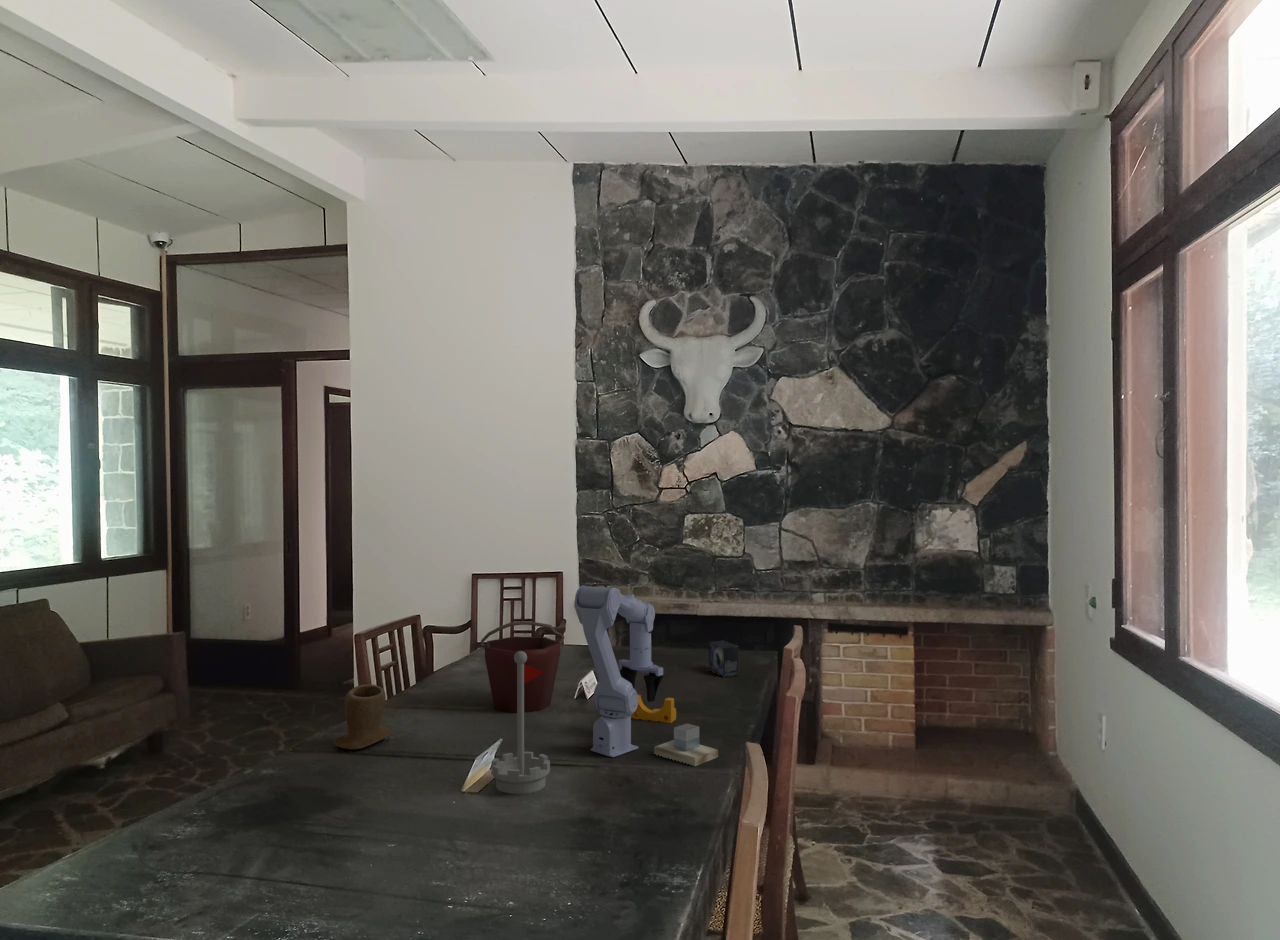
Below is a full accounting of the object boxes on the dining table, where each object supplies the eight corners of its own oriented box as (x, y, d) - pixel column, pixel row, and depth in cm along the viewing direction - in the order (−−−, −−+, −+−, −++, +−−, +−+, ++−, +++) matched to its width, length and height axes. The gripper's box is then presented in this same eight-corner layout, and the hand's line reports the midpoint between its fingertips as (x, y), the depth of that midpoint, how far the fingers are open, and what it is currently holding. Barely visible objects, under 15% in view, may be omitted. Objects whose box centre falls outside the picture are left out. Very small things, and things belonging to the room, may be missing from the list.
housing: (686, 751, 212) (686, 731, 212) (673, 747, 215) (673, 727, 215) (699, 746, 216) (699, 726, 216) (687, 743, 218) (687, 723, 218)
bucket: (568, 697, 270) (568, 616, 270) (555, 717, 248) (554, 629, 248) (491, 695, 273) (491, 615, 273) (471, 715, 251) (470, 628, 251)
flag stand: (494, 798, 188) (494, 659, 188) (488, 777, 200) (488, 647, 200) (554, 792, 191) (554, 655, 191) (544, 772, 204) (544, 643, 204)
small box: (707, 671, 304) (707, 641, 304) (723, 669, 307) (723, 639, 307) (722, 678, 295) (722, 647, 295) (739, 676, 297) (739, 645, 297)
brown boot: (362, 756, 215) (362, 695, 215) (327, 749, 221) (326, 690, 221) (404, 738, 229) (404, 681, 229) (370, 732, 234) (370, 677, 234)
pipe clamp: (676, 719, 247) (676, 696, 247) (671, 723, 243) (671, 700, 243) (636, 715, 251) (636, 692, 251) (631, 719, 247) (631, 696, 247)
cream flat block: (695, 766, 207) (694, 758, 207) (654, 754, 216) (654, 746, 216) (718, 757, 214) (718, 748, 214) (677, 745, 223) (677, 737, 223)
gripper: (670, 649, 231) (671, 700, 231) (631, 641, 241) (631, 690, 241) (652, 653, 226) (653, 705, 226) (613, 645, 235) (613, 695, 236)
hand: (640, 698), depth 233 cm, fingers open, 7 cm apart
